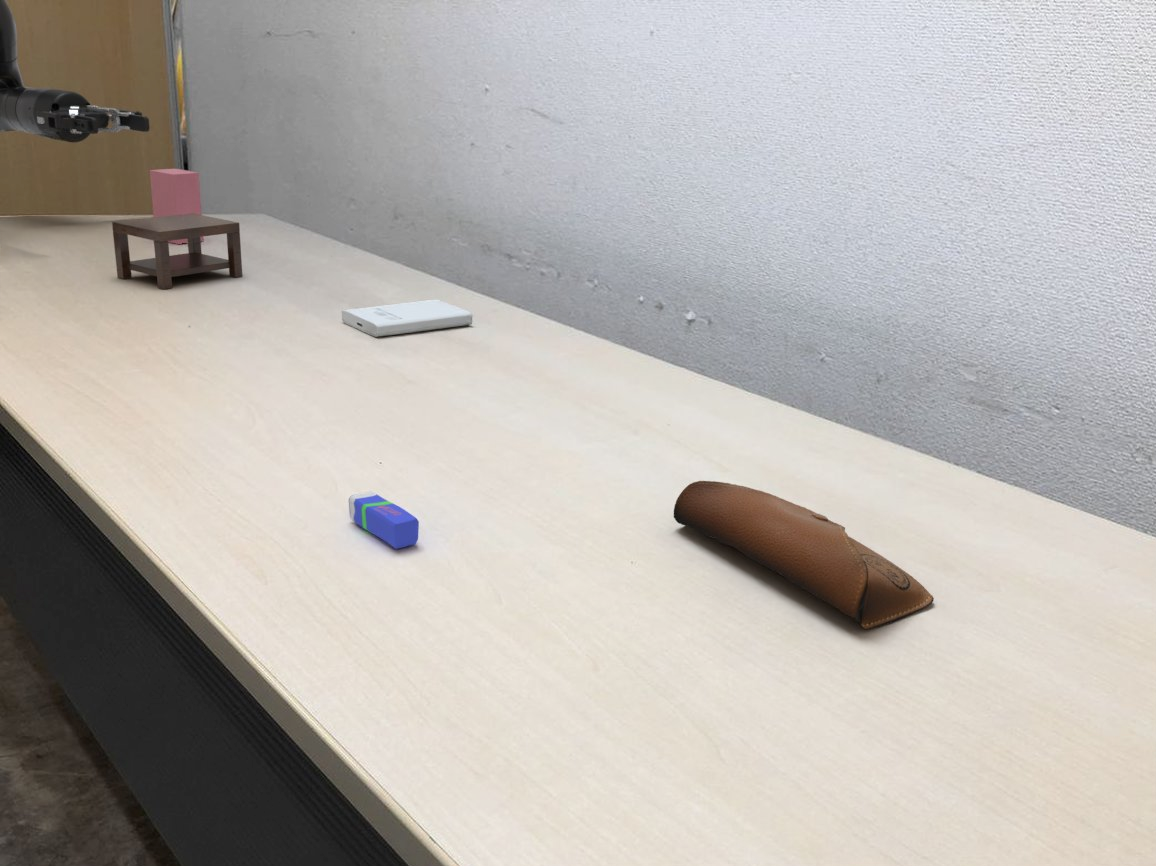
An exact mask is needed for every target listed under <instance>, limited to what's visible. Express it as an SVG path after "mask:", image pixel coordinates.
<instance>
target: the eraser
mask: <svg viewBox="0 0 1156 866" xmlns="http://www.w3.org/2000/svg"><path fill="white" fill-rule="evenodd" d="M348 511H349V518H350V520H351V521H352V522H354V523H355V524H356V525H358V526H359V527H361V528H362V529H364V530H366V531H367V532H369V533H370V534H372V535H374V536H376V537H378V538H379V539H381V540H382V541H384V542H385V543H387V544H388V545H390V546H391V547H392V548H394V549H397V550H398V549H402V548H406V547H408V546H413V545H416V544H417V543H418V540H419V529H420V527H419V524H420V521H419V520H418V518H417V517H416V516H415V515H413V514H411V513H410V512H409V511H407V510H406V509H405V508H403V507H401V506H399V505H397V504H395V503H393V502H391V501H389V500H387V499H386V498H384V497H382V496H380V495H379V494H377V493H376V492H374V491H371V490H369V491H365V492H361V493H357V494H352V495H350V496H349V497H348Z"/></svg>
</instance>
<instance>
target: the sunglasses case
mask: <svg viewBox="0 0 1156 866" xmlns="http://www.w3.org/2000/svg"><path fill="white" fill-rule="evenodd" d="M673 518H674V520H675V522H676V523H678V524H680V525H682V526H685V527H688V528H690V529H691V530H693V531H696V532H699V533H701V534H703V535H705V536H706V537H709V538H714V539H715V540H716V541H718V543H722V544H723V545H727V546H730V547H733V548H735V549H736V550H737V551H738V552H739V553H741V554H743V555H745V556H747V557H748V558H750V559H752V560H753V561H755V562H757V563H758V564H760V565H762V566H764V567H766V568H767V569H770V570H772V571H774V572H776V573H777V574H780V575H781V576H782V577H784V578H785V579H786V580H787V581H790V582H791V583H792V584H794V585H796V586H798V587H800V588H802V589H804V590H805V591H807V592H809V593H811V594H812V595H814V596H816V597H817V598H819V599H821V600H822V601H824V602H825V603H827V604H829V605H831V606H832V607H834V608H836V609H838V610H839V611H840V612H841V613H843V614H845V616H848V617H851V618H853V619H855V620H856V621H857V623H858V625H860V627H861V628H863V629H864V630H866V631H867V630H873V629H875V628H879V627H882V626H887V625H889V624H892V623H895V622H898V621H900V620H902V619H905V618H907V617H909V616H912V615H913V614H915V613H917V612H919V611H922V610H923V609H925V608H927V607H929V606H931V604H933V603H934V595H932V594H931V593H930V592H929V591H928V590H927V589H926V587H925V586H923V584H921V582H919V581H918V580H917V579H915V578H914V576H912V575H911V574H909V573H908V572H906V571H905V570H904V569H902V568H901V567H899V566H898V565H896V564H895V563H894V562H892V561H890V560H889V559H887V558H886V557H884V556H883V555H881V554H879V553H878V552H876V551H875V550H873V549H871V548H869V547H868V546H866V545H865V544H863V543H861V542H860V541H858V540H856V539H854V538H852V537H851V536H849V535H848V533H847V532H846V527H845V526H843V525H841V524H839V523H837V522H834V521H832V520H830V519H828V517H827V516H825V515H823V514H821V513H817V512H815V511H813V510H811V509H809V508H806V507H805V506H801V505H799V504H796V503H793V502H792V501H789V500H787V499H784V498H781V497H779V496H777V495H774V494H772V493H769V492H766V491H763V490H760V489H756V488H752V487H749V486H745V485H738V484H734V483H730V482H723V481H715V480H713V481H712V480H698V481H693V482H692V483H689V484H688V485H687V486H686V487H685V488H683V490H682V491H681V492H680V494H679V495H678V496H677V499H676V501H675V504H674V507H673Z"/></svg>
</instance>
